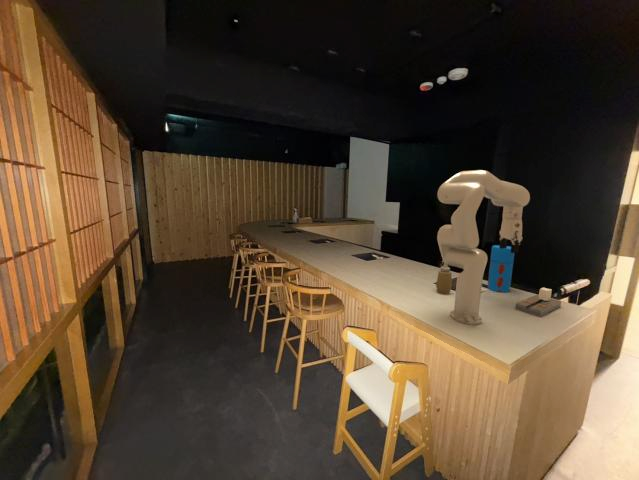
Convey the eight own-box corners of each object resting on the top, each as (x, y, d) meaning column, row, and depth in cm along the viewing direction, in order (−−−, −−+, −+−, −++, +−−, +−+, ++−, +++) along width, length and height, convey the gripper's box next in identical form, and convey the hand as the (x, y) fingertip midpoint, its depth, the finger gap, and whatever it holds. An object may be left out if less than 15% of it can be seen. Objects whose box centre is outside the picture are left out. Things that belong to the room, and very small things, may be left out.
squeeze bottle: (449, 296, 144) (452, 263, 141) (433, 293, 149) (436, 261, 146) (452, 292, 150) (455, 260, 147) (437, 289, 155) (439, 258, 152)
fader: (541, 299, 135) (543, 287, 134) (550, 301, 132) (551, 289, 131) (538, 300, 133) (539, 288, 132) (546, 303, 130) (548, 291, 129)
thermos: (488, 290, 153) (492, 247, 148) (486, 285, 162) (491, 244, 158) (511, 294, 148) (516, 249, 143) (508, 288, 157) (513, 246, 153)
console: (535, 300, 139) (536, 294, 139) (560, 306, 131) (561, 300, 130) (515, 309, 128) (515, 302, 128) (540, 317, 120) (541, 310, 119)
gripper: (532, 217, 120) (527, 254, 124) (509, 214, 137) (506, 246, 141) (514, 218, 121) (510, 254, 125) (494, 214, 138) (491, 246, 141)
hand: (508, 250), depth 133 cm, fingers open, 9 cm apart
